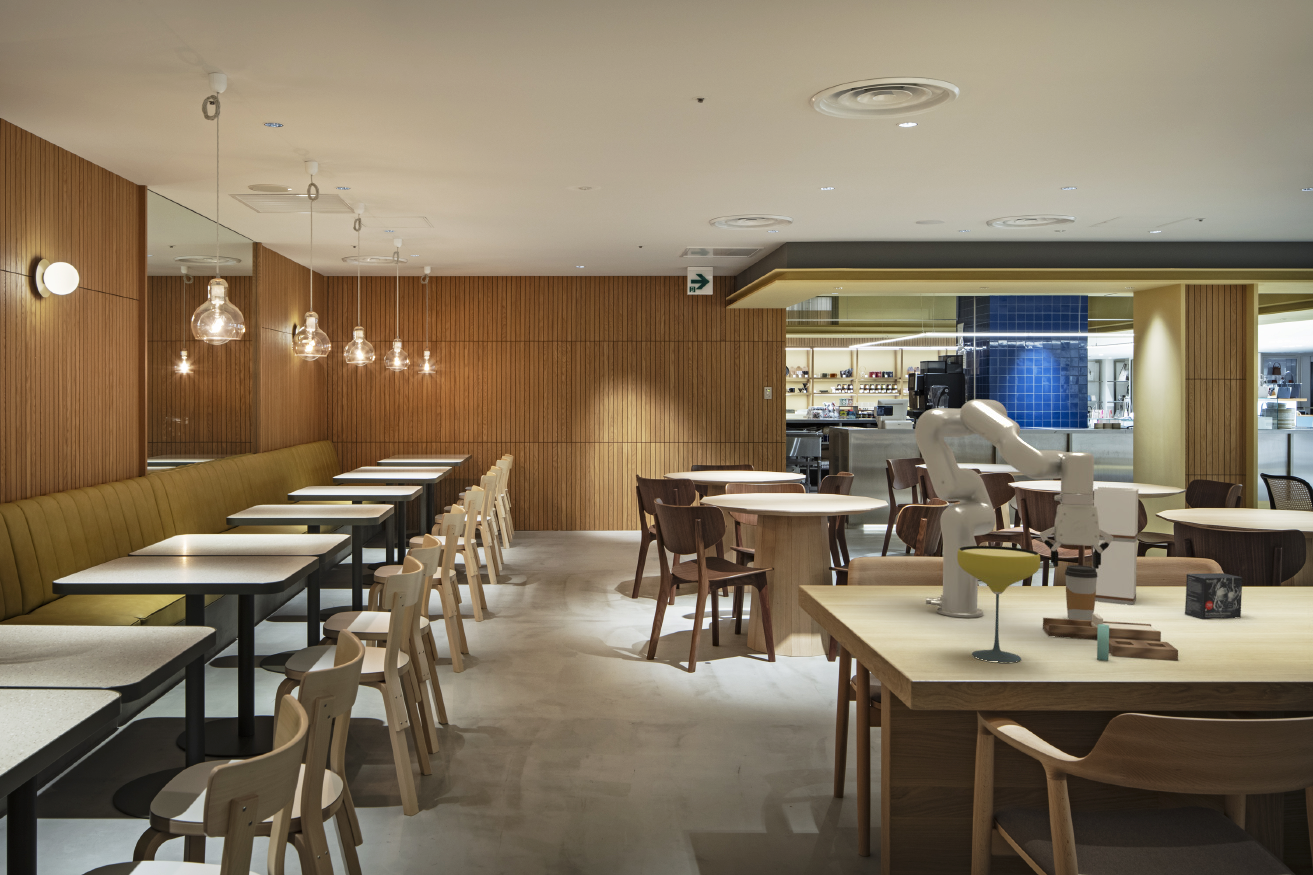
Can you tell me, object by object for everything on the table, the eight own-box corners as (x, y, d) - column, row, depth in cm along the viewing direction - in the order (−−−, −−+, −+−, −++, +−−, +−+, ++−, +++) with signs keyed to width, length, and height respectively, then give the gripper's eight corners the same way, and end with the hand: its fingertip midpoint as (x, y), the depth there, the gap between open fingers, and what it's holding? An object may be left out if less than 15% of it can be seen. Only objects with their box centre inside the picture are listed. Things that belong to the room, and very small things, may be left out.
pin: (1098, 660, 206) (1099, 626, 206) (1095, 657, 208) (1096, 623, 208) (1109, 661, 206) (1110, 626, 205) (1107, 658, 208) (1107, 624, 208)
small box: (1203, 619, 251) (1204, 577, 251) (1184, 614, 258) (1184, 573, 258) (1242, 618, 254) (1243, 576, 254) (1222, 613, 261) (1223, 572, 260)
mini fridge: (1136, 599, 279) (1138, 488, 278) (1133, 605, 270) (1135, 490, 269) (1095, 595, 285) (1098, 486, 285) (1091, 600, 276) (1094, 488, 276)
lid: (1097, 630, 227) (1097, 618, 227) (1091, 625, 234) (1091, 613, 233) (1157, 634, 224) (1157, 621, 224) (1149, 628, 230) (1150, 616, 230)
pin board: (1112, 655, 210) (1112, 645, 210) (1103, 647, 218) (1104, 637, 218) (1177, 660, 207) (1178, 650, 207) (1167, 651, 215) (1167, 641, 215)
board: (1049, 636, 229) (1049, 624, 229) (1042, 628, 238) (1043, 617, 238) (1160, 643, 223) (1160, 631, 223) (1149, 635, 231) (1150, 623, 231)
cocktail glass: (995, 671, 196) (997, 558, 196) (939, 651, 213) (941, 547, 212) (1056, 663, 203) (1058, 554, 203) (996, 644, 220) (998, 544, 219)
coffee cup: (1100, 624, 243) (1101, 570, 243) (1068, 623, 245) (1069, 569, 244) (1092, 618, 251) (1093, 565, 251) (1060, 616, 253) (1061, 564, 252)
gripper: (1043, 500, 226) (1041, 567, 226) (1117, 502, 221) (1116, 571, 222) (1037, 498, 233) (1036, 563, 233) (1109, 500, 229) (1108, 566, 229)
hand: (1075, 566), depth 228 cm, fingers open, 9 cm apart
